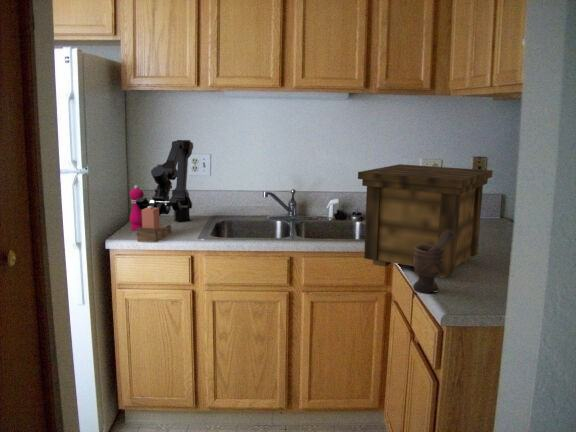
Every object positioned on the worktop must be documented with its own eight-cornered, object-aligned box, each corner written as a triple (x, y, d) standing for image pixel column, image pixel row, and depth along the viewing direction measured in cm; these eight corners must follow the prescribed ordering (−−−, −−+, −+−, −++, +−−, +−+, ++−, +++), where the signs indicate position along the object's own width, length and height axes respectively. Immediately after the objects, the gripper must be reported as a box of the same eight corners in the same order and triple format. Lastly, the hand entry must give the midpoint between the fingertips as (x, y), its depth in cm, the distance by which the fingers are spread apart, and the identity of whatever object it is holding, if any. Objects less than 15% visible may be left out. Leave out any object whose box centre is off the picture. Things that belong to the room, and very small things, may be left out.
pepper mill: (136, 231, 230) (134, 186, 226) (126, 229, 235) (124, 185, 231) (149, 228, 236) (147, 185, 232) (139, 226, 240) (137, 183, 236)
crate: (454, 284, 162) (462, 180, 156) (354, 265, 182) (358, 172, 176) (485, 259, 190) (492, 170, 184) (395, 245, 210) (399, 164, 204)
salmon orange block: (148, 230, 220) (147, 204, 218) (159, 231, 219) (158, 205, 217) (142, 233, 214) (141, 207, 212) (154, 234, 213) (153, 207, 211)
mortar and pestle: (454, 290, 157) (459, 225, 153) (447, 298, 149) (452, 231, 146) (416, 283, 162) (420, 221, 159) (407, 291, 155) (411, 226, 151)
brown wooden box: (153, 232, 229) (153, 219, 228) (171, 232, 228) (170, 220, 227) (137, 241, 213) (136, 228, 212) (156, 242, 212) (155, 229, 210)
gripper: (188, 202, 233) (180, 231, 224) (148, 200, 235) (139, 230, 227) (181, 187, 224) (173, 217, 215) (140, 186, 226) (130, 215, 218)
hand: (154, 220), depth 219 cm, fingers closed
